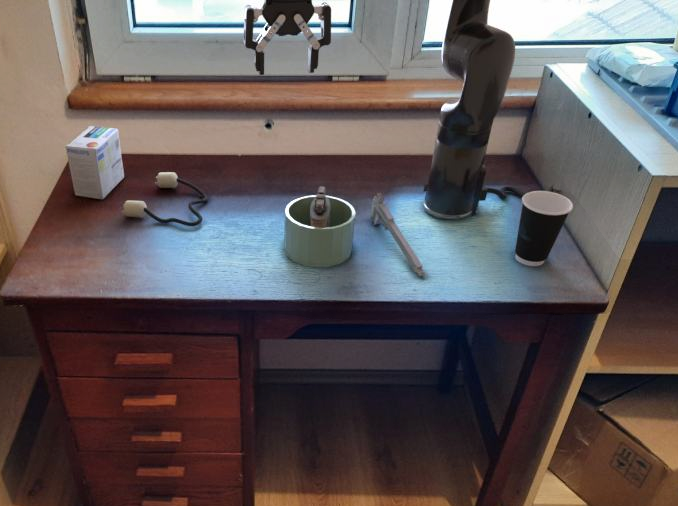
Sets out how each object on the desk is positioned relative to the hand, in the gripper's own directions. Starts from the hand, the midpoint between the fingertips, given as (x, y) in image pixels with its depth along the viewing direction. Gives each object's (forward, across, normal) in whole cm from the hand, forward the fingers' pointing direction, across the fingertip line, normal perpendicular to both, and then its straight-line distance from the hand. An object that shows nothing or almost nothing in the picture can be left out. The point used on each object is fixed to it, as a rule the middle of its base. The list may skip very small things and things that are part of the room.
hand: (286, 72), depth 112 cm
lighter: (+26, +4, -15) cm, 30 cm away
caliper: (+26, +18, -16) cm, 36 cm away
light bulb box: (+26, -36, +15) cm, 47 cm away
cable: (+26, -21, +5) cm, 34 cm away
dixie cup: (+26, +40, -23) cm, 53 cm away
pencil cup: (+26, +4, -15) cm, 30 cm away
